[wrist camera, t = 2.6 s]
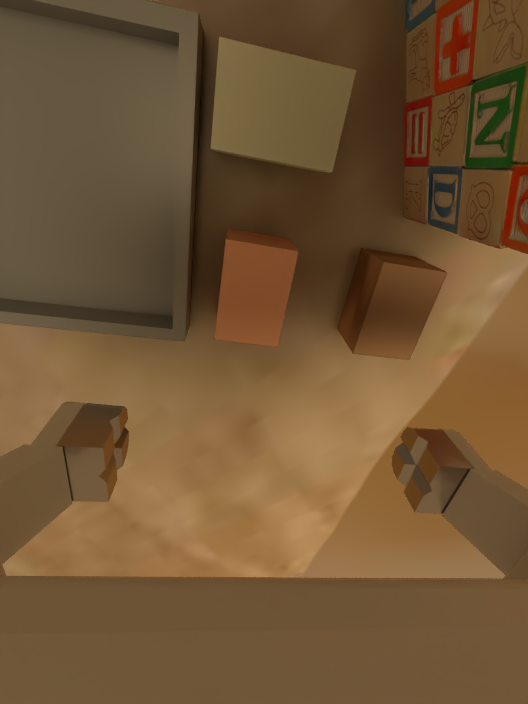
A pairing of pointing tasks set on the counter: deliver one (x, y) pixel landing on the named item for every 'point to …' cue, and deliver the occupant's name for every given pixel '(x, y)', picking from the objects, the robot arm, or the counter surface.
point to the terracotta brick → (254, 287)
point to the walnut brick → (388, 303)
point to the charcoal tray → (98, 165)
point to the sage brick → (278, 106)
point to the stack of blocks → (468, 119)
